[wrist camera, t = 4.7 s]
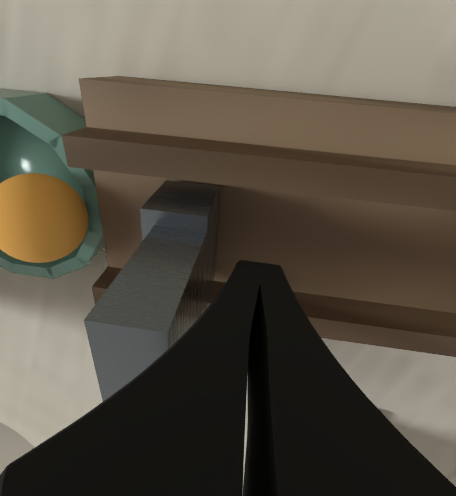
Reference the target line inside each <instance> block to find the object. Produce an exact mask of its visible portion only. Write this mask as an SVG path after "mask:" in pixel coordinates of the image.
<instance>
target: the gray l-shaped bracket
mask: <svg viewBox="0 0 456 496" xmlns="http://www.w3.org/2000/svg"><path fill="white" fill-rule="evenodd" d="M219 202H220V186H214V185H205V184H196V183H188V182H179V181H170V180H166V181H165V182H164V183H163V184H162V185H161V186H160V187H159V188H158V189H157V191H156V192H155V193H154V194H153V195H152V196H151V197H150V198H149V199H148V200H147V201H146V202H145V203H144V205H143V206H142V207H141V208H140V216H141V228H142V240H143V241H142V243H141V244H140V245H139V247H138V248H137V249H136V251H135V252H134V253H133V255H132V256H131V257H130V259H129V260H128V262H127V263H126V264H125V266H124V267H123V268H122V270H121V271H120V272H119V274H118V275H117V276H116V278H115V279H114V281H113V282H112V283H111V285H110V286H109V287H108V289H107V290H106V291H105V293H104V294H103V295H102V297H101V298H100V299H99V301H98V302H97V304H96V305H95V306H94V308H93V309H92V310H91V312H90V313H89V314H88V316H87V317H86V318H85V320H84V322H85V327H86V331H87V335H88V339H89V344H90V348H91V352H92V356H93V361H94V365H95V369H96V374H97V378H98V382H99V386H100V391H101V395H102V399H103V401H105V400H106V399H107V398H109V397H110V396H111V395H113V394H114V393H115V392H117V391H118V390H119V389H121V388H122V387H124V386H125V385H126V384H128V383H129V382H130V381H132V380H133V379H134V378H135V377H137V376H138V375H139V374H140V373H141V372H143V371H144V370H145V369H146V368H147V367H149V366H150V365H151V364H152V363H153V362H154V361H155V360H157V359H158V358H159V357H160V356H161V355H162V354H163V353H164V352H166V351H167V350H168V349H169V348H170V347H171V346H172V345H173V344H174V343H175V342H176V341H177V340H178V339H179V338H180V337H181V336H182V335H183V334H184V333H185V332H186V331H187V330H188V329H189V328H190V327H191V326H192V325H193V324H194V323H195V322H196V320H197V319H198V318H199V317H200V316H201V315H202V313H203V312H204V311H205V310H206V306H207V303H208V299H209V295H210V292H211V288H212V284H213V281H214V277H215V265H216V249H217V233H218V218H219Z"/></svg>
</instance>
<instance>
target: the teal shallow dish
mask: <svg viewBox="0 0 456 496" xmlns="http://www.w3.org/2000/svg"><path fill="white" fill-rule="evenodd" d="M85 127H86V121H85V119H84V118H83V117H81V116H80V115H78V114H77V113H75V112H74V111H73V110H71V109H70V108H68V107H67V106H65V105H64V104H62V103H61V102H59V101H58V100H56V99H55V98H53V97H52V96H50V95H49V94H47V93H40V92H30V91H20V90H9V89H0V183H2V182H3V181H5V180H7V179H9V178H11V177H14V176H17V175H20V174H26V173H40V174H47V175H50V176H54V177H56V178H59V179H61V180H62V181H64V182H66V183H67V184H69V185H70V186H72V187H73V188H74V189H75V190H76V191H77V192H78V194H79V195H80V196H81V198H82V199H83V201H84V203H85V205H86V208H87V211H88V218H89V221H88V229H87V232H86V235H85V237H84V239H83V241H82V242H81V244H80V245H79V246H78V247H77V248H76V249H75V250H74V251H73V252H71V253H70V254H69V255H67V256H65V257H63V258H61V259H58V260H55V261H51V262H45V263H34V262H26V261H22V260H19V259H16V258H14V257H12V256H10V255H8V254H6V253H5V252H3V251H2V250H1V249H0V266H1V267H3V268H4V269H6V270H8V271H10V272H12V273H17V274H24V275H32V276H39V277H46V278H53V279H54V278H57V277H59V276H62V275H64V274H67V273H69V272H72V271H74V270H77V269H79V268H81V267H84V266H86V265H87V264H88V263H89V262H90V261H91V260H92V259H93V258H94V257H95V256H96V255H97V254H98V253H99V251H100V250H101V249H102V248H103V247H104V246H105V242H104V235H103V229H102V223H101V216H100V210H99V204H98V197H97V191H96V185H95V178H94V172H93V170H89V169H81V168H72V167H68V165H67V160H66V155H65V150H64V145H63V140H62V135H64V134H67V133H70V132H73V131H76V130H79V129H82V128H85Z"/></svg>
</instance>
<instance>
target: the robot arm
mask: <svg viewBox="0 0 456 496" xmlns="http://www.w3.org/2000/svg"><path fill="white" fill-rule="evenodd" d="M247 372H248V431H247V447H246V460H245V473H244V485H243V459H244V435H245V412H246V391H247ZM242 489H243V496H456V487H455V486H454V485H453V484H452V483H451V482H450V481H449V480H448V479H447V478H446V477H445V476H444V475H443V474H442V473H441V472H440V471H438V470H437V469H436V468H435V467H434V466H433V465H432V464H431V463H430V462H429V461H428V460H427V459H426V458H425V457H424V456H423V455H422V454H421V453H420V452H419V451H418V450H417V449H416V448H415V447H414V446H413V445H412V444H411V443H410V442H409V441H408V440H407V439H406V438H405V437H404V436H403V435H402V434H401V433H400V432H399V431H398V430H397V429H396V428H395V427H394V426H393V425H392V423H391V422H390V421H389V420H388V419H387V418H386V417H385V416H384V415H383V414H382V413H381V412H380V411H379V410H378V408H377V407H376V406H375V405H374V404H373V403H372V402H371V401H370V400H369V399H368V398H367V397H366V395H365V394H364V393H363V392H362V391H361V390H360V388H359V387H358V386H357V385H356V384H355V382H354V381H353V380H352V379H351V378H350V376H349V375H348V374H347V373H346V371H345V370H344V369H343V368H342V366H341V365H340V364H339V363H338V361H337V360H336V359H335V357H334V356H333V354H332V353H331V352H330V350H329V349H328V348H327V346H326V345H325V343H324V342H323V340H322V339H321V337H320V336H319V334H318V333H317V331H316V330H315V328H314V327H313V325H312V324H311V322H310V320H309V319H308V317H307V315H306V314H305V312H304V310H303V309H302V307H301V305H300V304H299V302H298V300H297V298H296V296H295V294H294V292H293V290H292V288H291V287H290V284H289V282H288V280H287V278H286V276H285V274H284V271H283V269H282V267H281V266H280V265H276V264H268V263H261V262H253V261H246V260H240V261H238V262H237V263H236V266H235V268H234V270H233V272H232V274H231V275H230V277H229V279H228V280H227V282H226V283H225V285H224V286H223V288H222V289H221V291H220V292H219V293H218V295H217V296H216V297H215V299H214V300H213V301H212V303H211V304H210V305H209V306H208V308H207V309H206V310H205V311H204V312H203V313H202V315H201V316H200V317H199V318H198V319H197V320H196V322H195V323H194V324H193V325H192V326H191V327H190V328H189V329H188V330H187V331H186V332H185V333H184V334H183V335H182V336H181V337H180V338H179V339H178V340H177V341H176V342H175V343H174V344H173V345H172V346H171V347H170V348H169V349H168V350H167V351H166V352H164V353H163V354H162V355H161V356H160V357H159V358H158V359H157V360H155V361H154V362H153V363H152V364H151V365H150V366H149V367H147V368H146V369H145V370H144V371H143V372H141V373H140V374H139V375H138V376H137V377H135V378H134V379H133V380H132V381H130V382H129V383H128V384H126V385H125V386H124V387H122V388H121V389H119V390H118V391H117V392H115V393H114V394H113V395H111V396H110V397H109V398H107V399H106V400H105V401H103V402H102V403H101V404H99V405H98V406H97V407H95V408H94V409H93V410H91V411H90V412H88V413H87V414H85V415H84V416H83V417H81V418H80V419H78V420H77V421H75V422H74V423H72V424H71V425H69V426H68V427H66V428H64V429H63V430H61V431H60V432H58V433H57V434H55V435H54V436H52V437H51V438H49V439H48V440H46V441H44V442H43V443H41V444H40V445H38V446H37V447H35V448H34V449H32V450H31V451H29V452H28V453H26V454H24V455H23V456H22V457H20V458H18V459H16V460H15V461H13V462H12V463H10V464H9V465H8V466H7V467H6V468H5V469H4V471H3V472H2V473H1V475H0V496H242Z"/></svg>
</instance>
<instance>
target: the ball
mask: <svg viewBox="0 0 456 496" xmlns="http://www.w3.org/2000/svg"><path fill="white" fill-rule="evenodd" d="M88 221H89V218H88V211H87V208H86V205H85V203H84V201H83V199H82V198H81V196H80V195H79V194H78V192H77V191H76V190H75V189H74V188H73V187H72V186H70V185H69V184H67V183H66V182H64V181H62V180H61V179H59V178H56V177H54V176H50V175H47V174H40V173H26V174H20V175H17V176H14V177H11V178H9V179H7V180H5V181H3V182H2V183H0V249H1V250H2V251H3V252H5V253H6V254H8V255H10V256H12V257H14V258H16V259H19V260H22V261H26V262H34V263H45V262H51V261H55V260H58V259H61V258H63V257H65V256H67V255H69V254H70V253H71V252H73V251H74V250H75V249H76V248H77V247H78V246H79V245H80V244H81V242H82V241H83V239H84V237H85V235H86V232H87V229H88Z"/></svg>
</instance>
